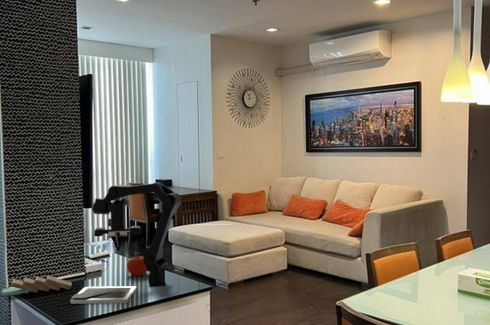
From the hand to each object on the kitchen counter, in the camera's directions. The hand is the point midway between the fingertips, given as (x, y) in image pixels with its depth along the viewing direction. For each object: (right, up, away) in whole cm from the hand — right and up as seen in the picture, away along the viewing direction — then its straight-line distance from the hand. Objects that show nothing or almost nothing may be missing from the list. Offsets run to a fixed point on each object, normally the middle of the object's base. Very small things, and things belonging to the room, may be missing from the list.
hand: (118, 251), depth 200 cm
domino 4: (-21, -13, -9) cm, 26 cm away
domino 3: (-25, -13, -10) cm, 30 cm away
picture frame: (0, -15, -19) cm, 24 cm away
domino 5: (-17, -13, -8) cm, 23 cm away
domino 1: (-32, -13, -12) cm, 37 cm away
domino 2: (-29, -13, -12) cm, 34 cm away
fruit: (+6, -13, +10) cm, 17 cm away
